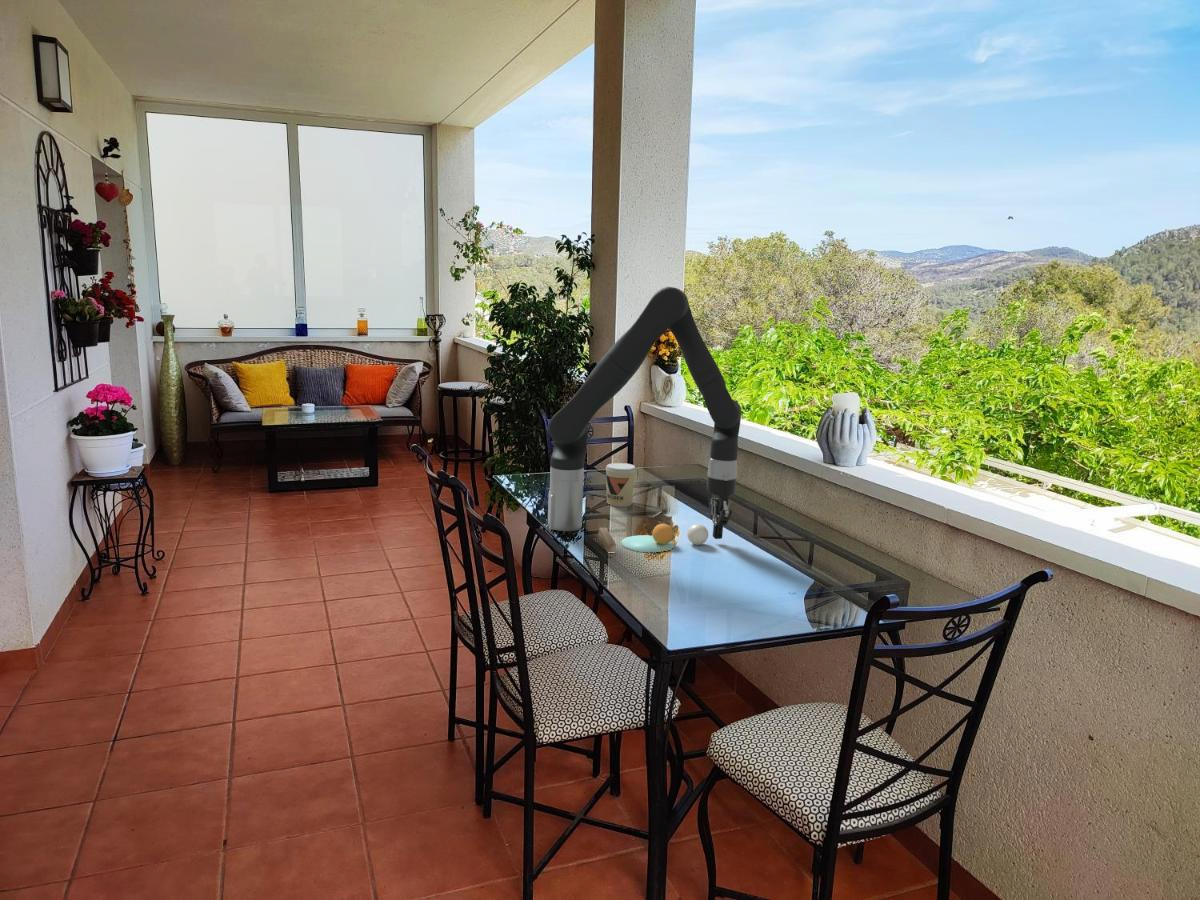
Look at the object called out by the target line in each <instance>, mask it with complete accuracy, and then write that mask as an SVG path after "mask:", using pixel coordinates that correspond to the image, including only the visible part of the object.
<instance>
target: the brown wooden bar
mask: <svg viewBox="0 0 1200 900" xmlns="http://www.w3.org/2000/svg"><path fill="white" fill-rule="evenodd" d="M598 538H599V539H600V542H601V544H602V543H603V544H602V546H603V545H604V546H603V548H604V547H605V548H604V549H606V550H607V551H606V550H605V551H606V553H607V552H616V550H617V543H616V541H615V540H614V538H613V536H612V535H611V533H610V531H609V529H608V528H607V527H598Z"/></svg>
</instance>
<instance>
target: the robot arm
mask: <svg viewBox="0 0 1200 900" xmlns="http://www.w3.org/2000/svg"><path fill="white" fill-rule="evenodd" d="M668 330H670V332H671V334H672V335H673V337H674V338H675V341H676V342H677V345H678V346H679V349H680V351H681V353H682V356H683V359H684V362H685V364H686V366H687V367H686V368H688V369H687V370H688V371H689V373H690V375H691V377H692V380H693V381H694V384H695V385H696V387H697V388H698V390H699V393H700V394H701V395H702V398H703V400H704V401H703V402H704V404H705V406H706V408H707V411H708V414H709V416H710V418H711V419H712V421H713V424H714V425H713V436H712V438H711V441H710V442H711V443H710V453H709V461H708V467H707V481H706V492H708V493H709V494H711V498H708V500H707V501H708V506H709V507H708V508H709V516H710V520H712V524H713V526H712V537H713V539H715V540H722V539H723V533H724V531H723V530H724V526H727V525H728V523H729V521H730V518H731V515H732V514H733V511H732V509H729V507H730V500H729V497H730V496H733V495H735V494H736V488H737V487H736V486H737V477H738V476H737V473H738V452H739V451H738V449H739V447H738V446H739V443H738V442H739V435H740V434H739V433H740V427H741V419H742V408H741V406H740V404H739V402H737V401H736V400H735V399H733V398H732V396H731V395H730V392H729V390H728V389H727V384H726V381H725V378H724V375H723V373H722V372H721V370H720V368H719V366H718V364H717V363H716V361H715V359H714V357H713V355H712V354H711V351H709V348H708V346H707V344H706V343H705V341H704V339H703V338H702V335H701V333H700V331H699V329H698V327H697V325H696V321H695V318H694V316H693V313H692V309H691V307H690V304H689V299H688V296H687V295H686V293H685V292H684V291H683V290H681V289H680V288H677V287H672V286H665V287H662V288H660V289H658V290H657V291H656V292H655V293H654V294H653V296H652V297H651V299H649V301H648V303H647V304H646V306H645V308H644V309H643V310H642V312H641V313H640V315H639V316H638V318H636V320H635V322H634V323H633V324H632V325H631V326H630V328H628V330H626V332H624V334H622V335H621V336H620V338H618V340H617V341H616V342H615V343H614V344H613V345H612V346H611V347H610V348H609V349H608V350H607V352H606V353H605V354H604V355H603V356H602V358H601V359H600V360H599V361H598V363H597V364H596V365H595V367H594V368H593V369H592V370H591V372H590V374H589V375H588V376H587V377H586V379H585V380H584V382H583V384H582V385H581V386H580V388H579V389H578V390H577V391H576V393H575V394H574V395H573V397H572V398H571V399H570V400H569V401H568V402H566V404H564V405H563V407H561V408H560V409H559V410H558V411H557V412H556V413H554V415H553V416H552V417H551V419H550V421H549V424H548V432H549V436H550V437H551V439H552V440H553V442H554V443H553V448H552V449H553V450H552V453H551V456H550V471H549V491H548V499H547V500H548V501H547V502H548V504H547V505H548V507H547V526H548V528H549V530H550V531H551V530H552V531H553V530H555V531H559V532H574V531H578V530H580V529H582V525H583V524H582V523H583V506H584V505H583V503H584V502H583V498H584V477H585V475H584V474H585V460H586V456H587V446H588V432H589V431H588V428H589V427H588V425H589V422H591V420H592V418H593V417H594V416H595V415H596V413H598V411H599V410H600V409H601V408H602V407H603V406H605V405H606V404H607V403H608V402H609V401H610V400H611V399H613V398H614V396H616V395H617V394H618V393H619V392H621V390H622V389H623V388H624V387H625V386H626V385H627V384H628V382H629V381H630V380H631V379H632V377H633V376H635V374H636V373H637V372H638V370H639V369H640V367H641V366H642V365H643V363H644V362H645V360H646V358H647V357H648V355H649V353H650V351H651V349H652V348H653V347H654V344H656V342H657V341H658V340H659V339H660V338H661V337H662V335H664V333H666V331H668Z"/></svg>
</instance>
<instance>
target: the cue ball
mask: <svg viewBox="0 0 1200 900" xmlns="http://www.w3.org/2000/svg"><path fill="white" fill-rule="evenodd" d="M686 535H687V538H688V540H689V542H690V543H692V544H693V545H695V544H697V545H696V546H700V544H701V545H703V544H704V543H706V542H707V540H708V538H709V531H708V529H707V527H706V526H705V525H703V524H701V523H695V524H693V525H691V526H689V528H688V530H687V534H686Z"/></svg>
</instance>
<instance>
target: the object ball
mask: <svg viewBox="0 0 1200 900" xmlns="http://www.w3.org/2000/svg"><path fill="white" fill-rule="evenodd" d="M651 534H652V535H651V536H653V539H654V540H655V542H657V543H658V544H661V545H665V544H668V543H669V542H670V541H672V540H673V537H674V530H673V528H672V527H671V526H670V525H668V524H666V523H658V524H657V525H655V527H654V528H653V530H652V533H651Z"/></svg>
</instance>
